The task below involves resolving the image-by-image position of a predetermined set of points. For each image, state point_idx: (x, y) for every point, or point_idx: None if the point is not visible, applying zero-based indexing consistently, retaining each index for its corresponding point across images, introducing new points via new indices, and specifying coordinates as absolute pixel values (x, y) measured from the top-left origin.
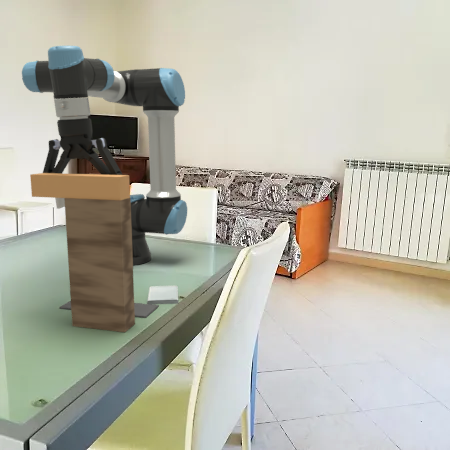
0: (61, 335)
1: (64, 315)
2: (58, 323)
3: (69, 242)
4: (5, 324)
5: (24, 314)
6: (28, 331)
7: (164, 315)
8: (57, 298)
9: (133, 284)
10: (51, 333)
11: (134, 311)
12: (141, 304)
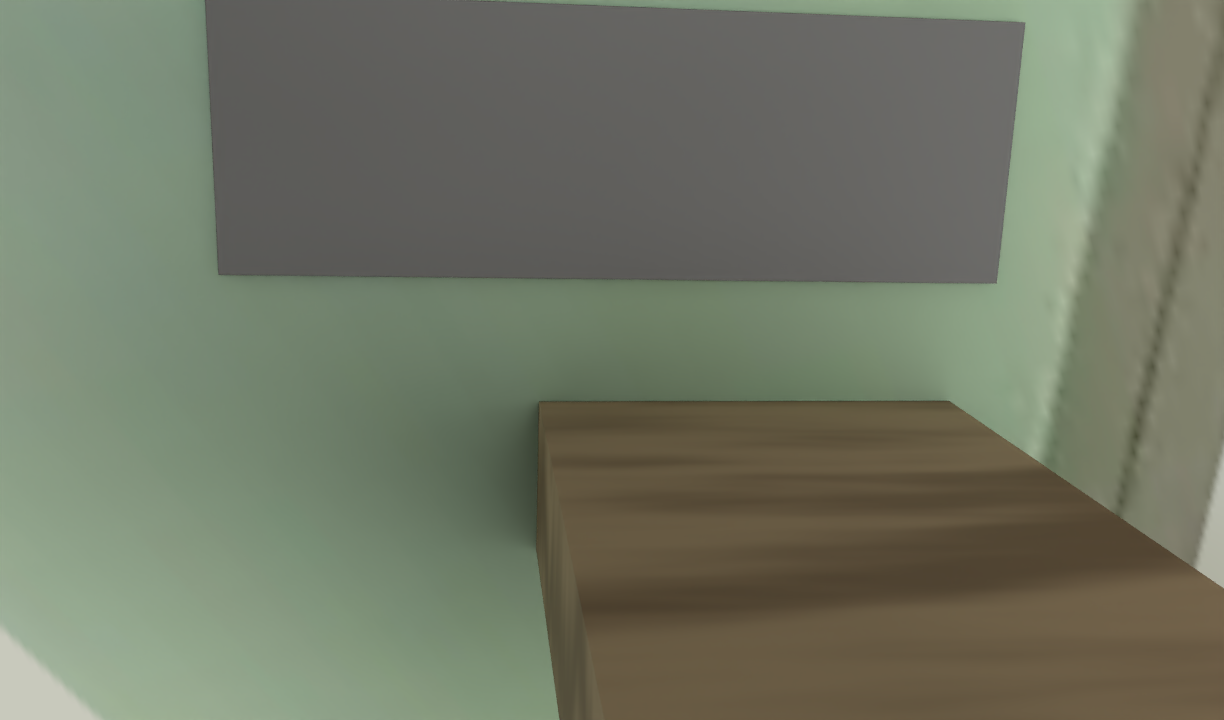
0: (550, 691)
1: (357, 391)
2: (409, 534)
3: None
4: (37, 652)
5: (24, 456)
6: (293, 701)
7: (1109, 195)
8: (23, 37)
9: (1104, 509)
10: (467, 685)
11: (989, 429)
12: (879, 42)
